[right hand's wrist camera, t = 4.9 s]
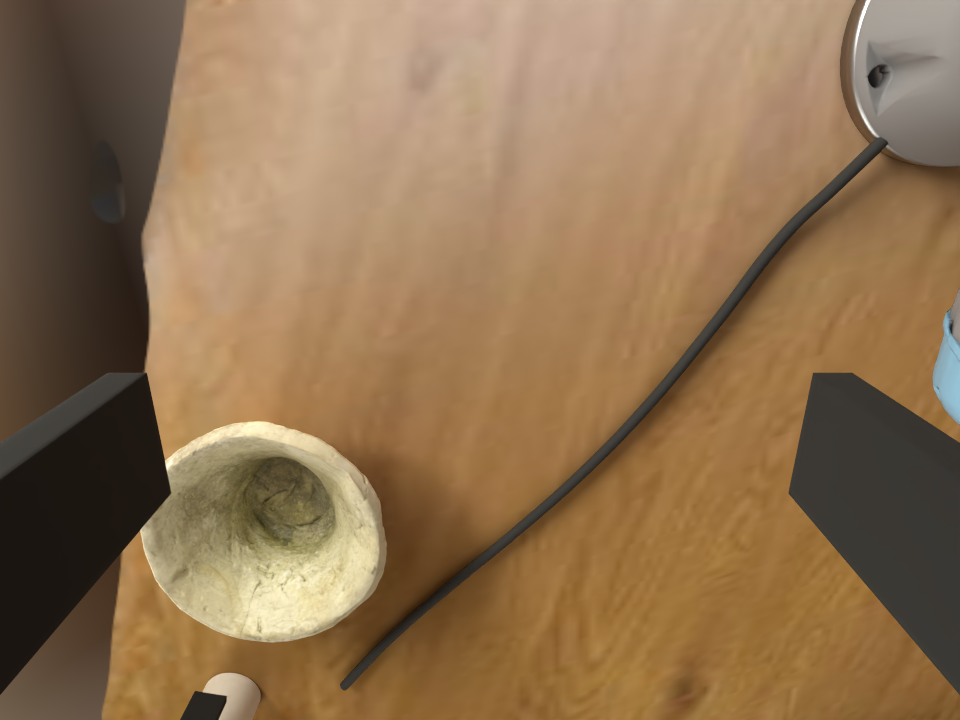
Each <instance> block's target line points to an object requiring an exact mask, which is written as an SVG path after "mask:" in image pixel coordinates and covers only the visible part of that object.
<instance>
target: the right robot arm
mask: <svg viewBox="0 0 960 720" xmlns="http://www.w3.org/2000/svg"><path fill="white" fill-rule="evenodd" d="M840 77H841V87H842V92H843V97H844V100H845V104H846V107H847V109H848V112H849V114H850V116H851V118H852V120H853V122H854V124H855V125H856V127H857V128H858V130H859V131H860V133H861V134H862V135H863V136H864V137H865V138H866V139H867V140H868V142H869V143H871V144H870V145H869V146H868V147H867V148H866V149H865V150H864V151H862V152H861V153H860V154H859V155H858V156H857V157H856V158H855V159H854V160H853V161H852V162H851V163H850V164H849V165H848V166H847V167H846V168H845V169H844V170H843V171H842V172H841V173H840V174H839V175H838V176H837V177H836V178H835V179H834V180H833V181H831V182H830V183H829V184H828V185H827V186H826V187H825V188H824V189H823V190H822V191H821V192H820V193H819V194H817V195H816V196H815V197H814V198H813V199H812V200H811V201H810V202H809V203H808V204H806V205H805V206H804V207H803V208H802V209H801V210H800V211H799V212H798V213H797V214H796V215H795V216H794V217H793V218H792V219H791V220H790V221H789V222H788V223H787V224H786V225H785V226H784V227H783V228H782V229H781V231H780V232H779V233H778V234H777V235H776V236H775V237H774V239H773V240H772V241H771V242H770V243H769V244H768V246H767V247H766V248H765V249H764V251H763V252H762V253H761V254H760V256H759V257H758V258H757V259H756V261H755V262H754V263H753V265H752V266H751V267H750V269H749V270H748V271H747V273H746V274H745V275H744V277H743V278H742V280H741V281H740V282H739V284H738V285H737V286H736V288H735V289H734V290H733V292H732V293H731V295H730V296H729V297H728V299H727V300H726V301H725V303H724V304H723V305H722V307H721V308H720V309H719V311H718V312H717V313H716V314H715V316H714V317H713V318H712V319H711V321H710V322H709V323H708V325H707V326H706V327H705V328H704V330H703V331H702V332H701V333H700V335H699V336H698V337H697V338H696V340H695V341H694V342H693V343H692V345H691V346H690V347H689V348H688V350H687V351H686V352H685V354H684V355H683V356H682V357H681V359H680V360H679V361H678V362H677V363H676V365H675V366H674V367H673V368H672V370H671V371H670V372H669V373H668V374H667V376H666V377H665V378H664V379H663V380H662V382H661V383H660V384H659V385H658V386H657V388H656V389H655V390H654V391H653V392H652V393H651V394H650V396H649V397H648V398H647V399H646V400H645V401H644V402H643V403H642V405H641V406H640V407H639V408H638V409H637V410H636V411H635V412H634V413H633V415H632V416H631V417H630V418H629V419H628V420H627V421H626V422H625V423H624V424H623V425H622V427H621V428H620V429H619V430H618V431H617V432H616V433H615V434H614V435H613V436H612V437H611V438H610V439H609V440H608V441H607V442H606V443H605V444H604V445H603V446H602V447H601V448H600V449H599V450H598V451H597V452H596V453H595V454H594V455H593V456H592V457H591V458H590V459H589V460H588V461H587V462H586V463H585V464H584V465H583V466H582V467H581V468H580V469H579V470H578V471H577V472H575V473H574V474H573V475H572V476H571V477H570V478H569V479H568V480H567V481H566V482H565V483H564V484H563V485H562V486H561V487H559V488H558V489H557V490H556V491H555V492H554V493H553V494H552V495H551V496H549V497H548V498H547V499H546V500H545V501H544V502H543V503H541V504H540V505H539V506H538V507H537V508H536V509H534V510H533V511H532V512H531V513H530V514H529V515H527V516H526V517H525V518H524V519H523V520H522V521H520V522H519V523H518V524H517V525H516V526H515V527H513V528H512V529H511V530H510V531H509V532H508V533H506V534H505V535H504V536H503V537H502V538H500V539H499V540H498V541H497V542H496V543H494V544H493V545H492V546H491V547H490V548H488V549H487V550H486V551H485V552H483V553H482V554H481V555H480V556H478V557H477V558H476V559H475V560H474V561H472V562H471V563H470V564H469V565H467V566H466V567H465V568H464V569H463V570H461V571H460V572H459V573H458V574H456V575H455V576H454V577H453V578H452V579H451V580H449V581H448V582H447V583H446V584H445V585H443V586H442V587H441V588H440V589H439V590H438V591H436V592H435V593H434V594H433V595H432V596H430V597H429V598H428V599H427V600H426V601H425V602H423V603H422V604H421V605H420V606H419V607H417V608H416V609H415V610H414V611H413V612H412V613H411V614H409V615H408V616H407V617H406V618H405V619H404V620H403V621H402V622H401V623H399V624H398V625H397V626H396V627H395V628H394V629H393V630H392V631H391V632H390V633H389V634H388V635H387V636H386V637H385V638H384V639H382V640H381V641H380V642H379V643H378V644H377V645H376V646H375V647H374V648H373V650H372V651H371V652H370V653H369V654H368V655H367V656H366V657H365V658H364V659H363V660H362V661H361V662H360V663H359V664H358V665H357V666H356V667H355V669H354V670H353V671H352V672H351V673H350V674H349V675H348V676H347V677H346V678H345V679H344V680H343V681H342V682H341V684H340V687H341V689H342V690H346V689H348V688H349V687H350V686H351V684H352V683H353V682H354V681H355V680H356V679H357V678H358V677H359V676H360V675H361V674H362V673H363V672H364V671H365V670H366V669H367V668H368V667H369V666H370V664H371V663H372V662H373V661H374V660H375V659H376V658H377V657H378V656H379V655H380V654H381V653H382V652H383V651H384V650H385V649H386V648H387V647H388V646H389V645H390V644H391V643H392V642H393V641H394V640H396V639H397V638H398V637H399V636H400V635H401V634H402V633H403V632H404V631H405V630H406V629H408V628H409V627H410V626H411V625H412V624H413V623H414V622H415V621H417V620H418V619H419V618H420V617H421V616H422V615H424V614H425V613H426V612H427V611H428V610H429V609H431V608H432V607H433V606H434V605H435V604H437V603H438V602H439V601H440V600H441V599H443V598H444V597H445V596H446V595H447V594H449V593H450V592H451V591H452V590H453V589H454V588H456V587H457V586H458V585H459V584H460V583H462V582H463V581H464V580H465V579H467V578H468V577H469V576H470V575H471V574H473V573H474V572H475V571H476V570H478V569H479V568H480V567H481V566H483V565H484V564H485V563H486V562H488V561H489V560H490V559H491V558H492V557H494V556H495V555H496V554H497V553H499V552H500V551H501V550H502V549H504V548H505V547H506V546H507V545H508V544H510V543H511V542H512V541H513V540H514V539H516V538H517V537H518V536H519V535H520V534H521V533H523V532H524V531H525V530H526V529H527V528H529V527H530V526H531V525H532V524H533V523H534V522H536V521H537V520H538V519H539V518H540V517H542V516H543V515H544V514H545V513H546V512H547V511H549V510H550V509H551V508H552V507H553V506H554V505H555V504H557V503H558V502H559V501H560V500H561V499H562V498H563V497H564V496H566V495H567V494H568V493H569V492H570V491H571V490H572V489H573V488H574V487H575V486H577V485H578V484H579V483H580V482H581V481H582V480H583V479H584V478H585V477H586V476H587V475H588V474H589V473H590V472H591V471H592V470H593V469H594V468H596V467H597V466H598V465H599V464H600V463H601V462H602V461H603V460H604V459H605V458H606V457H607V456H608V455H609V454H610V453H611V452H612V451H613V450H614V449H615V448H616V447H617V446H618V445H619V444H620V443H621V442H622V441H623V440H624V439H625V438H626V437H627V435H628V434H629V433H630V432H631V431H632V430H633V429H634V428H635V427H636V426H637V425H638V424H639V423H640V422H641V420H642V419H643V418H644V417H645V416H646V415H647V414H648V413H649V412H650V411H651V409H652V408H653V407H654V406H655V405H656V404H657V403H658V402H659V401H660V399H661V398H662V397H663V396H664V395H665V394H666V393H667V391H668V390H669V389H670V388H671V387H672V386H673V384H674V383H675V382H676V381H677V380H678V378H679V377H680V376H681V375H682V374H683V372H684V371H685V370H686V369H687V367H688V366H689V365H690V364H691V362H692V361H693V360H694V359H695V358H696V356H697V355H698V354H699V353H700V351H701V350H702V349H703V348H704V346H705V345H706V344H707V343H708V341H709V340H710V339H711V338H712V336H713V335H714V334H715V333H716V331H717V330H718V329H719V328H720V326H721V325H722V324H723V323H724V321H725V320H726V319H727V318H728V316H729V315H730V314H731V312H732V311H733V310H734V308H735V307H736V306H737V304H738V303H739V302H740V300H741V299H742V298H743V296H744V295H745V294H746V292H747V291H748V290H749V288H750V287H751V286H752V284H753V283H754V281H755V280H756V279H757V277H758V276H759V275H760V273H761V272H762V271H763V270H764V268H765V267H766V266H767V264H768V263H769V262H770V261H771V259H772V258H773V257H774V256H775V254H776V253H777V252H778V251H779V250H780V249H781V247H782V246H783V245H784V244H785V243H786V242H787V241H788V239H789V238H790V237H791V236H792V235H793V234H794V233H795V232H796V231H797V230H798V229H799V228H800V227H801V226H802V225H803V224H804V223H805V222H806V221H807V220H808V219H809V218H810V217H811V216H812V215H813V214H814V213H815V212H817V211H818V210H819V209H820V208H821V207H822V206H823V205H824V204H826V203H827V202H828V201H829V200H830V199H831V198H832V197H833V196H834V195H836V194H837V193H838V192H839V191H840V190H841V189H842V188H843V187H844V186H845V185H846V184H847V183H848V182H849V181H850V180H851V179H852V178H854V177H855V176H856V175H857V174H858V173H859V172H860V171H861V170H862V169H863V168H864V167H865V166H866V165H867V164H868V163H869V162H870V161H871V160H872V159H873V158H874V157H875V156H877V155H878V154H879V153H880V152H883V153H884V154H886V155H888V156H890V157H892V158H894V159H897V160H900V161H903V162H906V163H911V164H915V165H925V166H937V167H957V166H960V0H856V2H855V4H854V6H853V8H852V11H851V14H850V17H849V19H848V22H847V26H846V29H845V33H844V37H843V43H842V48H841V58H840ZM943 330H944V337H943V341H942V344H941V347H940V351H939V354H938V357H937V361H936V364H935V368H934V372H933V385H934V390H935V392H936V394H937V396H938V398H939V400H940V401H941V402H942V405H943V407H944V409H945V410H946V411H947V413H948V414H949V415H950V416H951V417H952V418H953V419H954V420H955V421H956V422H957V423H958V424H959V425H960V287H959V290H958V293H957V295H956V298H955V301H954V304H953V306H952V308H951V309H950V310H949V311H947V313H946V315H945V318H944V321H943ZM170 494H171V488H170V483H169V478H168V474H167V469H166V464H165V459H164V454H163V449H162V444H161V440H160V435H159V430H158V425H157V420H156V415H155V410H154V406H153V401H152V396H151V391H150V386H149V381H148V376H147V373H107V374H105V375H104V376H102V377H101V378H99V379H98V380H96V381H95V382H93V383H92V384H90V385H88V386H87V387H85V388H84V389H82V390H81V391H79V392H78V393H76V394H75V395H73V396H72V397H70V398H69V399H67V400H65V401H64V402H62V403H61V404H59V405H58V406H56V407H55V408H53V409H52V410H50V411H49V412H47V413H46V414H44V415H42V416H41V417H39V418H38V419H36V420H35V421H33V422H32V423H30V424H29V425H27V426H26V427H24V428H23V429H21V430H19V431H18V432H16V433H15V434H13V435H12V436H10V437H9V438H7V439H6V440H4V441H3V442H1V443H0V694H1V693H2V692H3V691H4V690H5V689H6V687H7V686H8V685H9V684H10V683H11V682H12V680H13V679H14V678H15V677H16V676H17V674H18V673H19V672H20V671H21V670H22V669H23V667H24V666H25V665H26V664H27V663H28V662H29V660H30V659H31V658H32V657H33V656H34V654H35V653H36V652H37V651H38V650H39V649H40V647H41V646H42V645H43V644H44V643H45V641H46V640H47V639H48V638H49V637H50V636H51V634H52V633H53V632H54V631H55V630H56V629H57V627H58V626H59V625H60V624H61V623H62V622H63V620H64V619H65V618H66V617H67V616H68V614H69V613H70V612H71V611H72V610H73V609H74V607H75V606H76V605H77V604H78V603H79V602H80V600H81V599H82V598H83V597H84V596H85V594H86V593H87V592H88V591H89V590H90V589H91V587H92V586H93V585H94V584H95V583H96V582H97V580H98V579H99V578H100V577H101V576H102V574H103V573H104V572H105V571H106V570H107V569H108V567H109V566H110V565H111V564H112V563H113V562H114V560H115V559H116V558H117V557H118V556H119V554H120V553H121V552H122V551H123V550H124V549H125V547H126V546H127V545H128V544H129V543H130V542H131V540H132V539H133V538H134V537H135V536H136V534H137V533H138V532H139V531H140V530H141V529H142V527H143V526H144V525H145V524H146V523H147V522H148V520H149V519H150V518H151V517H152V516H153V514H154V513H155V512H156V511H157V510H158V509H159V507H160V506H161V505H162V504H163V503H164V502H165V500H166V499H167V498H168V497H169V496H170ZM789 494H790V496H791V497H792V498H793V499H794V500H795V502H796V503H797V504H798V505H799V506H800V507H801V509H802V510H803V511H804V512H805V513H806V514H807V516H808V517H809V518H810V519H811V520H812V522H813V523H814V524H815V525H816V526H817V527H818V529H819V530H820V531H821V532H822V533H823V534H824V536H825V537H826V538H827V539H828V540H829V542H830V543H831V544H832V545H833V546H834V547H835V549H836V550H837V551H838V552H839V553H840V554H841V556H842V557H843V558H844V559H845V560H846V562H847V563H848V564H849V565H850V566H851V567H852V569H853V570H854V571H855V572H856V573H857V574H858V576H859V577H860V578H861V579H862V580H863V582H864V583H865V584H866V585H867V586H868V587H869V589H870V590H871V591H872V592H873V593H874V594H875V596H876V597H877V598H878V599H879V600H880V602H881V603H882V604H883V605H884V606H885V607H886V609H887V610H888V611H889V612H890V613H891V614H892V616H893V617H894V618H895V619H896V620H897V622H898V623H899V624H900V625H901V626H902V627H903V629H904V630H905V631H906V632H907V633H908V634H909V636H910V637H911V638H912V639H913V640H914V642H915V643H916V644H917V645H918V646H919V647H920V649H921V650H922V651H923V652H924V653H925V654H926V656H927V657H928V658H929V659H930V660H931V662H932V663H933V664H934V665H935V666H936V667H937V669H938V670H939V671H940V672H941V673H942V674H943V676H944V677H945V678H946V679H947V680H948V682H949V683H950V684H951V685H952V686H953V687H954V689H955V690H956V691H957V692H958V693H959V694H960V443H959V442H957V441H956V440H954V439H953V438H951V437H950V436H948V435H947V434H945V433H944V432H942V431H941V430H939V429H937V428H936V427H934V426H933V425H931V424H930V423H928V422H927V421H925V420H924V419H922V418H921V417H919V416H918V415H916V414H914V413H913V412H911V411H910V410H908V409H907V408H905V407H904V406H902V405H901V404H899V403H898V402H896V401H895V400H893V399H891V398H890V397H888V396H887V395H885V394H884V393H882V392H881V391H879V390H878V389H876V388H875V387H873V386H872V385H870V384H868V383H867V382H865V381H864V380H862V379H861V378H859V377H858V376H856V375H855V374H853V373H813V376H812V381H811V386H810V391H809V396H808V401H807V406H806V410H805V415H804V420H803V425H802V430H801V435H800V440H799V444H798V449H797V454H796V459H795V464H794V469H793V474H792V478H791V483H790V488H789Z"/></svg>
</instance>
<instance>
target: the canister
mask: <svg viewBox="0 0 960 720" xmlns="http://www.w3.org/2000/svg"><path fill="white" fill-rule="evenodd" d="M203 692H204V693H211V694H218V695H224V696H227V702H226V704H225V707H224V709H223V711H222V713H221V716H220V718H219V720H253V718H254V715H255V713H256V710H257V708H258V705H259V703H260V699H261V694H260V690H259V688H258V686H257V685H256V684H255V683H254V682H253V681H252V680H251V679H249V678H248V677H246V676H243V675H241V674H237V673H222V674H218V675H216V676H214V677H213V678H211V679H210V680H209V681H208V683H207V684H206V686H205V688H204V690H203Z"/></svg>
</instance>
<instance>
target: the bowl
mask: <svg viewBox="0 0 960 720" xmlns="http://www.w3.org/2000/svg"><path fill="white" fill-rule="evenodd" d="M165 464H166V469H167V474H168V478H169V483H170V488H171V494H170V496H169V497H168V498H167V499H166V500H165V502H164V503H163V504H162V505H161V506H160V507H159V509H158V510H157V511H156V512H155V513H154V514H153V516H152V517H151V518H150V519H149V520H148V522H147V523H146V524H145V525H144V526H143V527H142V529H141V530H140V532H141V537H142V541H143V548H144V551H145V554H146V557H147V559H148V562H149V564H150V567H151V569H152V572H153V575H154V577H155V580H156V581H157V582H158V583H159V586H160V587H161V588H162V589H163V590H164V592H165V593H166V594H167V595H168V596H169V597H170V598H171V600H172V601H173V602H174V603H175V604H176V605H177V606H178V607H179V608H180V609H181V610H182V611H184V612H186V613H187V614H188V615H190V616H191V617H193V618H194V619H196V620H198V621H199V622H201V623H203V624H205V625H206V626H208V627H210V628H211V629H213V630H215V631H218V632H221V633H224V634H226V635H229V636H232V637H236V638H240V639H244V640H253V641H262V642H282V641H292V640H297V639H301V638H304V637H308V636H312V635H315V634H318V633H320V632H323V631H325V630H327V629H329V628H331V627H333V626H335V625H336V624H337V623H338V622H339V621H341V620H342V619H344V618H345V617H347V616H348V615H349V614H350V613H351V612H352V611H354V610H355V609H356V608H357V607H358V606H359V605H360V604H362V603H363V602H364V601H365V600H367V599H368V598H369V597H370V596H371V595H372V594H373V592H374V591H375V590H376V588H377V586H378V583H379V581H380V579H381V578H382V576H383V572H384V567H385V563H386V556H387V549H386V548H387V542H386V537H385V531H384V527H383V525H382V524H383V523H382V512H381V504H380V500H379V498H378V497H377V494H376V492H375V490H374V489H373V487H372V485H371V484H370V482H369V481H368V479H367V478H366V476H365V475H364V474H362V473H361V472H360V471H359V470H358V468H357V467H356V466H355V465H353V464H352V463H351V462H350V461H348V460H347V459H346V458H344V457H343V456H342V455H341V453H339V452H338V451H337V450H336V449H335V448H333V447H332V446H330V445H329V444H327V443H326V442H324V441H323V440H321V439H319V438H317V437H314V436H312V435H309V434H306V433H303V432H300V431H298V430H294V429H289V428H287V427H284V426H280V425H276V424H273V423H269V422H258V421H256V422H247V423H234V424H230V425H227V426H224V427H221V428H218V429H215V430H213V431H212V432H210V433H207V434H205V435H204V436H201V437H198V438H197V439H195V440H193V441H191V442H190V443H189V444H187V446H185V447H183V448H181V449H179V450H178V451H177V452H175V453H174V454H173V455H172V456H171V457H169V458H168V459H167V460H166V461H165Z"/></svg>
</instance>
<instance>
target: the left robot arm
mask: <svg viewBox="0 0 960 720" xmlns="http://www.w3.org/2000/svg"><path fill="white" fill-rule="evenodd" d="M226 702H227V696H224V695H218V694H211V693H204V692H198V691H195V692H194V694H193V696H192V698H191V700H190V702H189V704H188V706H187V708H186V710H185V712H184V713H183V715H182V717H181V719H180V720H219V718H220V716H221V713H222V711H223V709H224V707H225V704H226Z"/></svg>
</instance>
